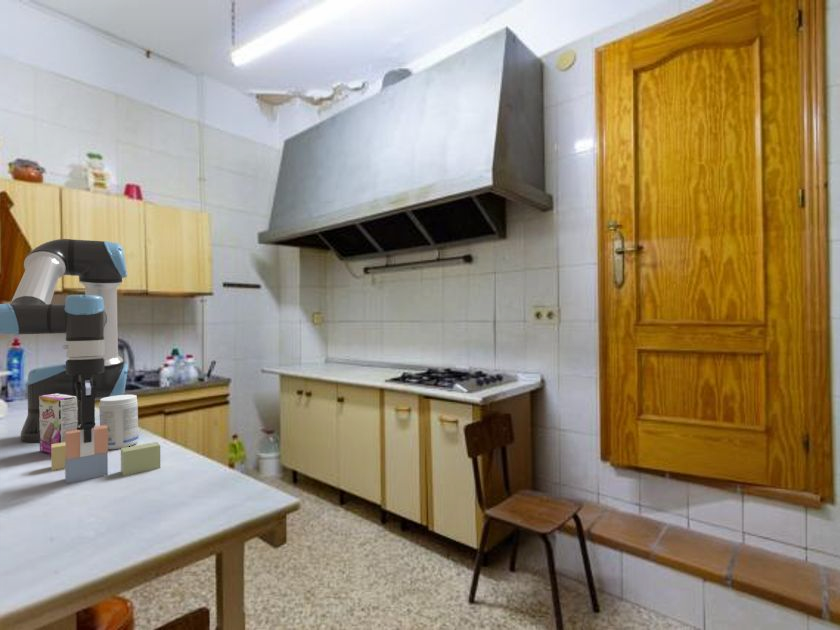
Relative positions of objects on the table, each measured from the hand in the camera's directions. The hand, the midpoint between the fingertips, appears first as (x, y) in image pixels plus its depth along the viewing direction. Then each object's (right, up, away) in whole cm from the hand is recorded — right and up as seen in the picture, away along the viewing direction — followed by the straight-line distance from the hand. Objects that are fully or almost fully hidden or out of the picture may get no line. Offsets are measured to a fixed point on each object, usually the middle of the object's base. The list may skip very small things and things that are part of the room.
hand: (86, 453), depth 106 cm
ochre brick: (-10, -6, +9) cm, 15 cm away
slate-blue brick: (0, -6, 0) cm, 6 cm away
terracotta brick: (0, 0, 0) cm, 0 cm away
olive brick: (+10, -6, +5) cm, 13 cm away
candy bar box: (-23, -6, +19) cm, 30 cm away
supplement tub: (-10, -6, +25) cm, 28 cm away
